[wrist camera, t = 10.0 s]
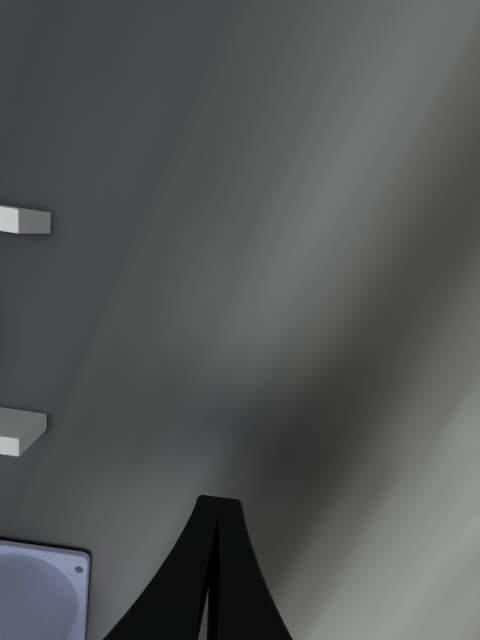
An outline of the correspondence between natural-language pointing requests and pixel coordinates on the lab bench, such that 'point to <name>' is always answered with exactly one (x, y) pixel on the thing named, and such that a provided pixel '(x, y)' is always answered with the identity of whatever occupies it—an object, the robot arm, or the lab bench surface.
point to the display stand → (5, 423)
